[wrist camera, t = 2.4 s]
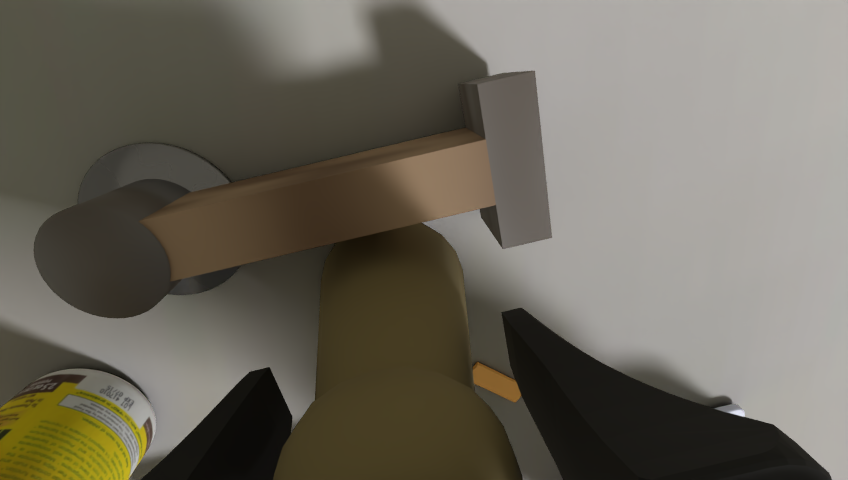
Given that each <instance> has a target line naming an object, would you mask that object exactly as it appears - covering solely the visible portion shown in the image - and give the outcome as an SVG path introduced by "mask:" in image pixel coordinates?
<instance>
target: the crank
mask: <svg viewBox="0 0 848 480" xmlns="http://www.w3.org/2000/svg"><path fill="white" fill-rule="evenodd" d="M458 86H459V92H460V97H461V103H462V109H463V115H464V120H465V126H466V127H465V128H461V129H457V130H453V131H448V132H444V133H440V134H436V135H431V136H427V137H423V138H419V139H414V140H410V141H406V142H402V143H398V144H393V145H389V146H385V147H381V148H376V149H372V150H368V151H364V152H359V153H355V154H351V155H347V156H342V157H338V158H334V159H330V160H325V161H321V162H317V163H313V164H308V165H304V166H300V167H296V168H292V169H287V170H283V171H279V172H275V173H270V174H266V175H262V176H258V177H253V178H249V179H245V180H241V181H236V182H232V183H228V184H224V185H219V186H215V187H211V188H207V189H202V190H198V191H194V192H190V191H189V190H187V189H186V188H184V187H182V186H180V185H178V184H176V183H173V182H170V181H166V180H161V179H144V180H139V181H136V182H133V183H130V184H128V185H125V186H123V187H120V188H118V189H115V190H113V191H110V192H108V193H105V194H103V195H100V196H98V197H95V198H93V199H90V200H88V201H85V202H83V203H80V204H78V205H75V206H73V207H70V208H68V209H65V210H63V211H60V212H58V213H56V214H54V215H53V216H51V217H50V218H48V219H47V220H46V221H45V222H44V223H43V225H42V226H41V227H40V229H39V231H38V233H37V235H36V238H35V242H34V257H35V261H36V265H37V268H38V270H39V272H40V274H41V276H42V278H43V279H44V281H45V282H46V283H47V285H48V286H49V287H50V288H51V289H52V290H53V292H54V293H56V294H57V295H58V296H59V297H60V298H61V299H63V300H64V301H66V302H67V303H68V304H70V305H72V306H74V307H75V308H77V309H79V310H82V311H84V312H87V313H89V314H92V315H96V316H100V317H107V318H127V317H133V316H136V315H140V314H142V313H144V312H146V311H148V310H150V309H151V308H153V307H154V306H155V305H156V304H157V303H158V302H160V301H161V300H162V299H163V298H164V297H165V296H166V295H167V294H168V293H169V292H170V291H171V290H172V289H173V288H174V287H175V286H176V285H177V284H178V283H179V282H180V281H181V280H182V279H184V278H188V277H192V276H196V275H201V274H205V273H209V272H213V271H218V270H222V269H226V268H230V267H235V266H239V265H243V264H247V263H252V262H256V261H260V260H264V259H269V258H273V257H277V256H281V255H286V254H290V253H294V252H298V251H303V250H307V249H311V248H315V247H320V246H324V245H328V244H332V243H337V242H341V241H345V240H349V239H354V238H358V237H362V236H366V235H371V234H375V233H379V232H383V231H388V230H392V229H396V228H400V227H405V226H409V225H413V224H417V223H422V222H426V221H430V220H435V219H439V218H443V217H447V216H452V215H456V214H460V213H464V212H469V211H473V210H477V209H480V213H481V218H482V219H483V221H484V222H485V224H486V225H487V227H488V228H489V229H490V231H491V232H492V234H493V235H494V237H495V238H496V240H497V241H498V243H499V244H500V246H501V247H502V249H505V248H510V247H514V246H518V245H523V244H527V243H531V242H535V241H540V240H544V239H548V238H552V233H551V224H550V214H549V204H548V194H547V185H546V175H545V165H544V155H543V146H542V136H541V126H540V117H539V107H538V97H537V87H536V78H535V71H524V72H510V73H501V74H497V75H493V76H488V77H484V78H480V79H476V80H471V81H467V82H463V83H459V84H458Z"/></svg>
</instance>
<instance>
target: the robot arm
mask: <svg viewBox="0 0 848 480" xmlns="http://www.w3.org/2000/svg"><path fill="white" fill-rule="evenodd" d="M502 318H503V324H504V330H505V336H506V342H507V348H508V354H509V360H510V366H511V369H512V371H513V374H514V377H515V380H516V382H517V385H518V388H519V390H520V393H521V396H522V398H523V400H524V402H525V404H526V406H527V408H528V410H529V412H530V414H531V416H532V418H533V420H534V422H535V424H536V425H537V427H538V429H539V431H540V433H541V435H542V437H543V439H544V441H545V443H546V445H547V447H548V449H549V451H550V453H551V455H552V457H553V459H554V461H555V463H556V465H557V467H558V469H559V472H560V474H561V476H562V478H563V480H832V479H831V476H830V474H829V472H827V471H826V470H825V469H824V468H823V467H822V466H821V465H820V464H819V463H817V462H816V461H815V460H814V459H813V458H812V457H811V456H810V455H809V454H808V453H807V452H806V451H804V450H803V449H802V448H801V447H800V446H799V445H798V444H797V443H796V442H794V441H793V440H792V439H791V438H789V437H788V436H787V435H786V434H784V433H783V432H782V431H781V430H779V429H778V428H777V427H776V426H774V425H773V424H769V423H765V422H761V421H758V420H754V419H750V418H746V417H744V415H745V412H744V410H743V409H742V408H741V407H740V406H738V405H736V404H730V405H726V406H722V407H717V408H710V407H707V406H704V405H701V404H698V403H695V402H692V401H689V400H686V399H683V398H680V397H678V396H675V395H672V394H669V393H667V392H664V391H662V390H659V389H657V388H654V387H652V386H649V385H647V384H645V383H642V382H640V381H638V380H635V379H633V378H631V377H629V376H627V375H625V374H623V373H621V372H619V371H617V370H615V369H613V368H611V367H609V366H607V365H605V364H603V363H601V362H599V361H597V360H596V359H594V358H592V357H591V356H589V355H587V354H586V353H584V352H582V351H581V350H579V349H578V348H576V347H575V346H573V345H572V344H570V343H569V342H567V341H566V340H564V339H563V338H561V337H560V336H558V335H557V334H556V333H554V332H553V331H551V330H550V329H549V328H547V327H546V326H545V325H543V324H542V323H541V322H539V321H538V320H537V319H536V318H534V317H533V316H532V315H531V314H529V313H528V312H527V311H525V310H524V309H522V308H518V309H514V310H510V311H505V312H502ZM291 425H292V415H291V413H290V411H289V408H288V406H287V404H286V402H285V400H284V398H283V395H282V393H281V391H280V389H279V387H278V385H277V382H276V380H275V378H274V376H273V374H272V372H271V369H270V367H268V368H264V369H260V370H255V371H251V372H249V373H248V374H247V375H246V376H245V377H244V378H243V379H242V380H241V381H240V382H239V383H238V384H237V385H236V386H235V387H234V388H233V389H232V390H231V391H230V392H229V393H228V394H227V395H226V396H225V397H224V398H223V399H222V401H221V402H220V403H219V404H218V405H217V406H216V407H215V408H214V409H213V410H212V411H211V412H210V413H209V414H208V415H207V416H206V417H205V418H204V419H203V421H202V422H201V423H200V424H199V425H198V426H197V427H196V428H195V429H194V430H193V431H192V432H191V433H190V434H189V435H188V436H187V437H186V438H185V439H184V440H183V441H182V442H181V443H180V444H179V445H178V446H176V447H175V448H174V449H173V450H172V451H171V452H170V453H169V454H168V455H167V456H166V457H165V458H164V459H163V460H162V461H161V462H160V463H159V464H158V465H157V466H156V467H154V468H153V469H152V470H151V471H150V472H149V473H148V474H147V475H145V476H144V477H143V478H142V479H141V480H273V477H274V473H275V470H276V467H277V463H278V460H279V457H280V454H281V450H282V448H283V446H284V444H285V443H286V441H287V440H288V438H289V436H290V434H291Z"/></svg>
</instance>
